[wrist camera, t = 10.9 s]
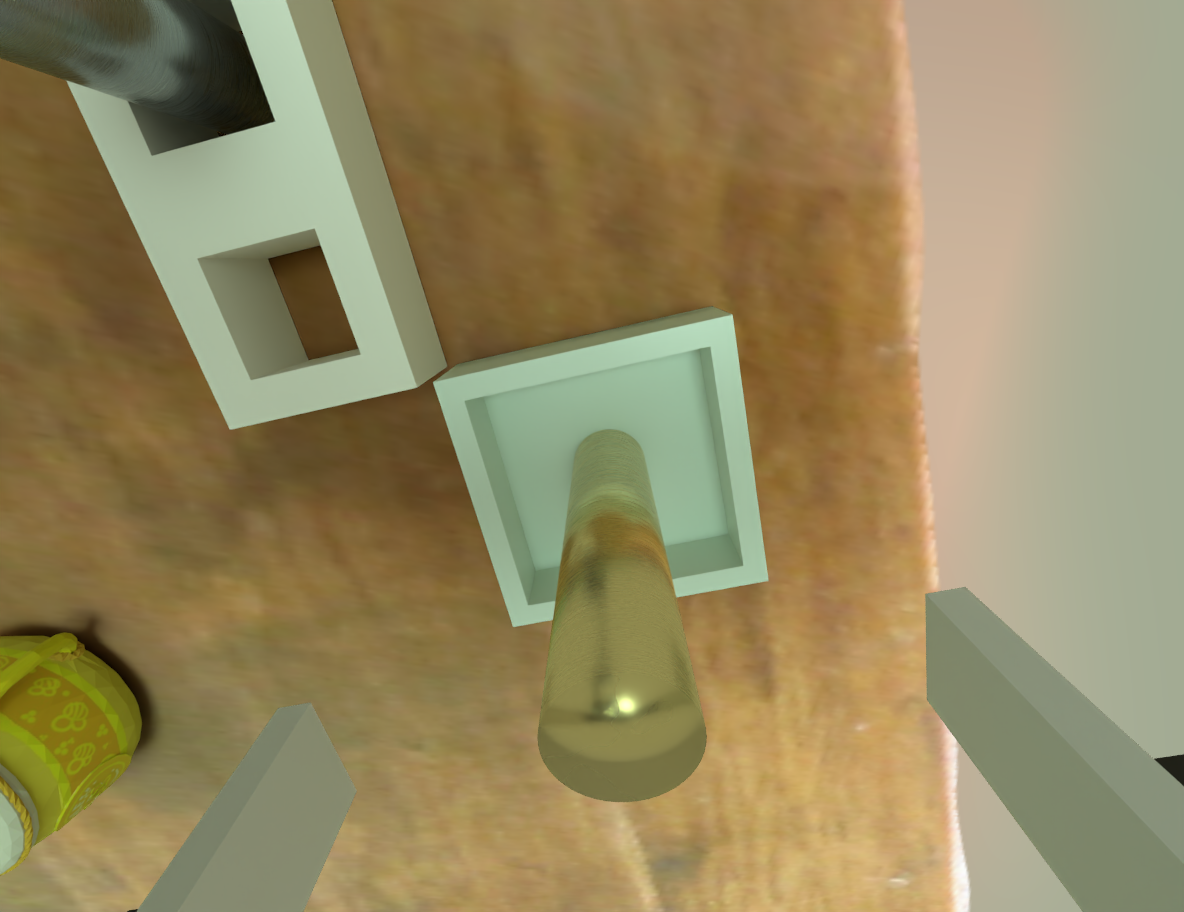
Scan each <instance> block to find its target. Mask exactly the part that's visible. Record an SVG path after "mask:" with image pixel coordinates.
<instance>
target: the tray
mask: <svg viewBox="0 0 1184 912" xmlns="http://www.w3.org/2000/svg"><path fill="white" fill-rule="evenodd" d="M433 384H434V387H435V390H436V393H437V396H438V399H439V402H440V405H441V408H442V411H443V414H444V417H445V420H446V424H447V427H448V430H449V433H450V436H451V439H452V442H453V445H454V448H455V451H456V454H457V457H458V460H459V463H460V466H461V469H462V472H463V475H464V478H465V481H466V484H467V488H468V491H469V494H470V497H471V500H472V503H473V506H474V509H475V512H476V515H477V518H478V521H479V524H480V527H481V530H482V533H483V536H484V539H485V542H486V545H487V549H488V552H489V555H490V558H491V561H492V564H493V567H494V570H495V573H496V576H497V579H498V582H499V585H500V588H501V591H502V594H503V597H504V600H505V603H506V606H507V609H508V613H509V616H510V619H511V622H512V625H513V627H516V626H522V625H527V624H533V623H538V622H544V621H549V620H553V615H554V608H555V600H556V593H557V585H558V578H559V570H560V562H561V555H562V547H563V540H564V532H565V525H566V517H567V510H568V502H569V495H570V487H571V479H572V472H573V464H574V457H575V453H576V451H577V448H578V447H579V445H580V444H581V442H582V441H583V440H584V439H585V438H586V437H588V436H589V435H591V434H592V433H595V432H597V431H600V430H606V429H613V430H619V431H622V432H625V433H627V434H629V435H630V436H632V437H633V438H634V439H635V440H636V441H637V442H638V443H639V445H640V446H641V448H642V450H643V453H644V456H645V461H646V465H647V469H648V474H649V478H650V483H651V487H652V492H653V496H654V501H655V505H656V509H657V514H658V518H659V523H660V527H661V532H662V536H663V541H664V545H665V549H666V554H667V558H668V563H669V567H670V572H671V576H672V581H673V585H674V589H675V594H676V597H682V596H687V595H693V594H698V593H704V592H709V591H715V590H720V589H726V588H731V587H737V586H742V585H748V584H753V583H759V582H764V581H768V574H767V566H766V559H765V551H764V544H763V537H762V529H761V522H760V514H759V507H758V499H757V492H756V485H755V477H754V470H753V462H752V455H751V448H750V440H749V433H748V425H747V418H746V411H745V403H744V396H743V388H742V381H741V374H740V366H739V359H738V351H737V344H736V337H735V329H734V322H733V315H732V314H730V313H727V312H725V311H723V310H720V309H718V308H715V307H713V306H711V307H706V308H702V309H698V310H693V311H689V312H684V313H680V314H676V315H671V316H667V317H662V318H658V319H654V320H649V321H645V322H640V323H636V324H632V325H627V326H623V327H618V328H614V329H610V330H605V331H601V332H597V333H592V334H588V335H583V336H579V337H575V338H570V339H566V340H561V341H557V342H553V343H548V344H544V345H539V346H535V347H531V348H526V349H522V350H517V351H513V352H509V353H504V354H500V355H496V356H491V357H487V358H482V359H478V360H474V361H469V362H465V363H460V364H457V365H456V366H454V367H453V368H452V369H450V370H449V371H448V372H446V373H445V374H443V375H442V376H441V377H439V378H438V379H437V380H435V381H434V382H433Z"/></svg>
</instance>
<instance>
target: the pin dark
mask: <svg viewBox="0 0 1184 912" xmlns="http://www.w3.org/2000/svg"><path fill="white" fill-rule="evenodd" d="M0 58H1V59H4V60H7V61H10V62H13V63H16V64H19V65H22V66H25V67H28V68H31V69H34V70H37V71H40V72H43V73H46V74H49V75H52V76H55V77H58V78H61V79H64V80H67V81H70V82H73V83H76V84H79V85H82V86H85V87H88V88H90V89H93V90H96V91H99V92H102V93H105V94H108V95H111V96H114V97H117V98H120V99H123V100H126V101H129V102H132V103H135V104H138V105H141V106H144V107H147V108H150V109H153V110H156V111H159V112H162V113H165V114H168V115H171V116H174V117H177V118H180V119H183V120H186V121H189V122H192V123H195V124H198V125H201V126H204V127H207V128H210V129H213V130H216V131H219V132H222V133H225V134H228V135H229V134H233V133H236V132H240V131H243V130H247V129H251V128H254V127H258V126H261V125H265V124H269V123H272V122H275V119H274V116H273V114H272V111H271V108H270V105H269V103H268V100H267V97H266V95H265V92H264V89H263V86H262V84H261V81H260V78H259V75H258V73H257V70H256V67H255V65H254V62H253V59H252V56H251V54H250V51H249V48H248V45H247V43H246V40H245V37H244V35H242V34H241V33H239V32H237V31H236V30H234V29H233V28H231V27H229V26H228V25H226V24H225V23H223V22H221V21H220V20H218V19H217V18H215V17H213V16H212V15H210V14H209V13H207V12H206V11H204V10H202V9H201V8H199V7H198V6H196V5H194V4H193V3H191V2H190V1H188V0H0Z"/></svg>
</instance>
